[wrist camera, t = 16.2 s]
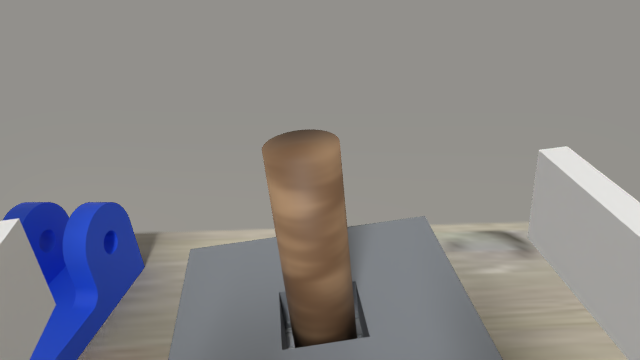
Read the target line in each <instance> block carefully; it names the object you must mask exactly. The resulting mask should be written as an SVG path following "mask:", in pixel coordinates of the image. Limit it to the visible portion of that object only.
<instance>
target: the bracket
mask: <svg viewBox="0 0 640 360" xmlns="http://www.w3.org/2000/svg"><path fill="white" fill-rule="evenodd" d="M18 218H19V219H20V222H21V224H22V226H23V229H24V231H25V233H26V236H27V238H28V240H29V243H30V245H31V247H32V250H33V252H34V254H35V257H36V259H37V261H38V264H39V266H40V268H41V271H42V273H43V275H44V278H45V280H46V282H47V285H48V287H49V289H50V292H51V294H52V296H53V299H54V301H55V303H56V306H55V308H54V310H53V312H52V314H51V316H50V318H49V320H48V322H47V324H46V326H45V329H44V331H43V333H42V335H41V337H40V339H39V341H38V343H37V345H36V347H35V349H34V351H33V353H32V356H31V358H30V360H77V359H78V357H79V356H80V355H81V353H82V352H83V350H84V349H85V348H86V346H87V345H88V344H89V342H90V341H91V340H92V338H93V337H94V335H95V334H96V333H97V331H98V330H99V329H100V327H101V326H102V325H103V323H104V322H105V321H106V319H107V318H108V316H109V315H110V314H111V312H112V311H113V310H114V308H115V307H116V306H117V304H118V303H119V301H120V300H121V299H122V297H123V296H124V295H125V293H126V292H127V291H128V289H129V288H130V286H131V285H132V284H133V282H134V281H135V280H136V278H137V277H138V276H139V274H140V273H141V272H142V270H143V269H144V267H145V266H144V263H143V260H142V257H141V254H140V251H139V247H138V244H137V241H136V238H135V235H134V232H133V229H132V225H131V222H130V219H129V217H128V214H127V213H126V211H125V210H124V208H123V207H121V206H120V205H119V204H117V203H113V202H88V203H85V204H82V205H80V206H79V207H78V208H77V209H76V210H75V211H74V212H73V213H72V215H71V216H70V218H69V217H68V215H67V213H66V212H65V210H63V208H62V207H60V206H59V205H57V204H55V203H51V202H25V203H21V204H19V205H17V206H15V207H14V208H12V209H11V210H10V211H9V212H8V213H7V214H6V216H5V217H4V219H3V220H10V219H18Z"/></svg>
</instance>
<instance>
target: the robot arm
mask: <svg viewBox="0 0 640 360" xmlns="http://www.w3.org/2000/svg"><path fill="white" fill-rule="evenodd" d="M527 238H528V239H529V240H530V241H531V242H532V244H533V245H534V246H535V247H536V249H537V250H538V251H539V252H540V253H541V255H542V256H543V257H544V258H545V259H546V261H547V262H548V263H549V264H550V265H551V267H552V268H553V269H554V270H555V272H556V273H557V274H558V275H559V276H560V278H561V279H562V280H563V281H564V282H565V284H566V285H567V286H568V287H569V288H570V290H571V291H572V292H573V293H574V295H575V296H576V297H577V298H578V299H579V301H580V302H581V303H582V304H583V305H584V307H585V308H586V309H587V310H588V311H589V313H590V314H591V315H592V316H593V318H594V319H595V320H596V321H597V322H598V324H599V325H600V326H601V327H602V328H603V330H604V331H605V332H606V333H607V334H608V336H609V337H610V338H611V339H612V341H613V342H614V343H615V344H616V345H617V347H618V348H619V349H620V350H621V351H622V353H623V354H624V355H625V356H626V357H627V359H628V360H640V202H638V201H637V200H636V199H635V198H633V197H632V196H631V195H629V194H628V193H627V192H625V191H624V190H623V189H621V188H620V187H619V186H618V185H616V184H615V183H614V182H612V181H611V180H610V179H609V178H607V177H606V176H605V175H603V174H602V173H601V172H599V171H598V170H597V169H595V168H594V167H593V166H592V165H590V164H589V163H588V162H587V161H585V160H584V159H583V158H581V157H580V156H579V155H577V154H576V153H575V152H573V151H572V150H571V149H570V148H568V147H567V146H566V147H558V148H551V149H543V150H539V151H538V159H537V167H536V175H535V183H534V190H533V198H532V206H531V213H530V221H529V229H528V237H527ZM55 306H56V303H55V301H54V299H53V296H52V294H51V292H50V289H49V287H48V285H47V282H46V280H45V278H44V275H43V273H42V271H41V268H40V266H39V264H38V261H37V259H36V257H35V254H34V252H33V250H32V247H31V245H30V243H29V240H28V238H27V236H26V233H25V231H24V229H23V226H22V224H21V222H20V219H19V218H18V219H10V220H3V221H0V360H30V358H31V356H32V353H33V351H34V349H35V347H36V345H37V343H38V341H39V339H40V337H41V335H42V333H43V331H44V329H45V326H46V324H47V322H48V320H49V318H50V316H51V314H52V312H53V310H54V308H55Z"/></svg>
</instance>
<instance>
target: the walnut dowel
mask: <svg viewBox="0 0 640 360" xmlns="http://www.w3.org/2000/svg"><path fill="white" fill-rule="evenodd" d="M262 153H263V159H264V165H265V171H266V177H267V183H268V189H269V195H270V202H271V208H272V213H273V220H274V225H275V232H276V238H277V244H278V250H279V256H280V262H281V268H282V274H283V280H284V286H285V292H286V298H287V304H288V310H289V316H290V322H291V328H292V334H293V340H294V346H295V348H299V347H306V346H312V345H319V344H326V343H332V342H339V341H345V340H352V339H357V332H356V321H355V309H354V298H353V287H352V276H351V264H350V253H349V242H348V231H347V219H346V210H345V197H344V187H343V174H342V163H341V152H340V143H339V138H338V137H337V136H336V135H334V134H332V133H330V132H327V131H322V130H298V131H292V132H287V133H284V134H281V135H278V136H276V137H274V138H272V139H270V140H269V141H267V142H266V143H265V144H264V146H263V147H262Z"/></svg>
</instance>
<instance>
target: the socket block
mask: <svg viewBox="0 0 640 360" xmlns="http://www.w3.org/2000/svg"><path fill="white" fill-rule="evenodd" d="M347 231H348V242H349V253H350V264H351V276H352V287H353V298H354V309H355V321H356V332H357V339H352V340H345V341H339V342H332V343H326V344H319V345H312V346H306V347H299V348H295V346H294V340H293V334H292V328H291V322H290V316H289V310H288V304H287V298H286V292H285V286H284V280H283V274H282V268H281V262H280V256H279V250H278V244H277V238H276V237H274V238H267V239H259V240H252V241H245V242H238V243H231V244H224V245H217V246H210V247H203V248H196V249H190V254H189V259H188V264H187V269H186V274H185V279H184V284H183V289H182V294H181V299H180V304H179V309H178V314H177V319H176V324H175V329H174V334H173V339H172V344H171V349H170V354H169V358H168V360H503V359H502V357H501V355H500V354H499V352H498V350H497V348H496V346H495V344H494V343H493V341H492V339H491V337H490V335H489V333H488V331H487V330H486V328H485V326H484V324H483V322H482V320H481V319H480V317H479V315H478V313H477V311H476V309H475V308H474V306H473V304H472V302H471V300H470V298H469V297H468V295H467V293H466V291H465V289H464V287H463V286H462V284H461V282H460V280H459V278H458V276H457V275H456V273H455V271H454V269H453V267H452V265H451V263H450V262H449V260H448V258H447V256H446V254H445V252H444V251H443V249H442V247H441V245H440V243H439V241H438V240H437V238H436V236H435V234H434V232H433V230H432V229H431V227H430V225H429V223H428V221H427V219H426V218H425V216H422V217H415V218H408V219H402V220H393V221H387V222H379V223H373V224H365V225H358V226H351V227H347Z"/></svg>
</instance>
